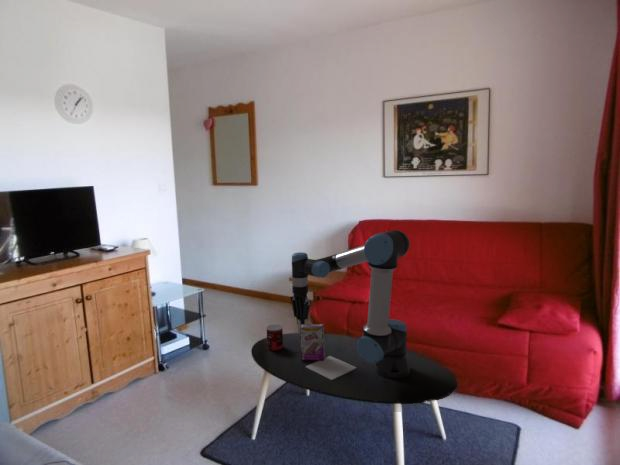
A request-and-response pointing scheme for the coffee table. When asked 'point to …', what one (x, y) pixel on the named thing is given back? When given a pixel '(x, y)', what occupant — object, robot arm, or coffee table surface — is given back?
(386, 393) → the coffee table surface
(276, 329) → the canned food
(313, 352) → the candy bar box
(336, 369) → the mat
